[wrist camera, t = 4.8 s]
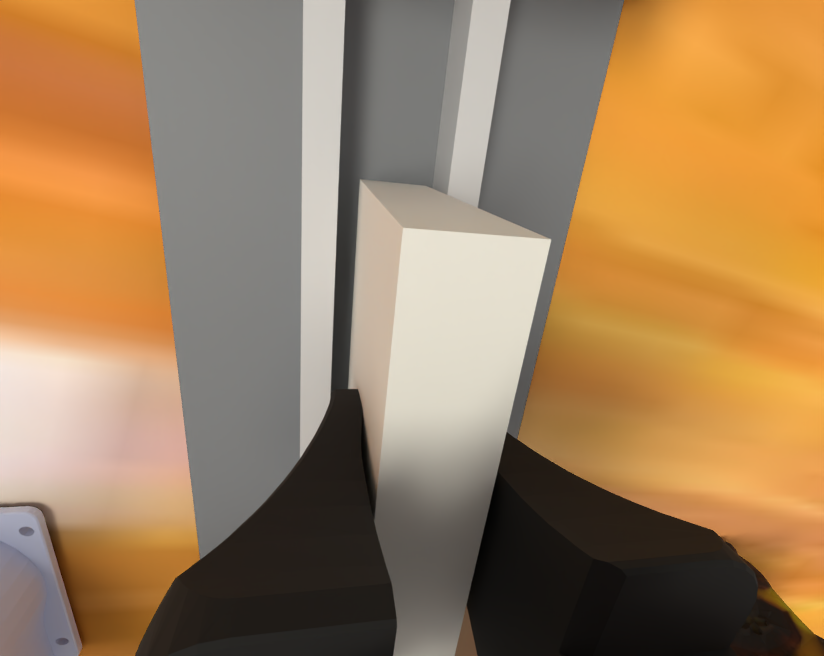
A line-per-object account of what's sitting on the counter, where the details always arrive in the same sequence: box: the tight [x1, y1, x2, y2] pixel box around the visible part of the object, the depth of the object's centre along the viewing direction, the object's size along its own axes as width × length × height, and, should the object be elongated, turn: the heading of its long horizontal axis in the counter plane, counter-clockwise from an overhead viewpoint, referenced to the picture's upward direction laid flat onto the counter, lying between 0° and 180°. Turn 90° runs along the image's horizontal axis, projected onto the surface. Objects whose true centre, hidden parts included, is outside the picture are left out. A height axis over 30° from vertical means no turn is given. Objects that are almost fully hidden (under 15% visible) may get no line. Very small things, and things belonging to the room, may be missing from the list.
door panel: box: [348, 179, 551, 656], centre depth 11 cm, size 12×2×8 cm, turn 174°
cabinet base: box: [135, 0, 624, 656], centre depth 14 cm, size 27×14×6 cm, turn 174°
